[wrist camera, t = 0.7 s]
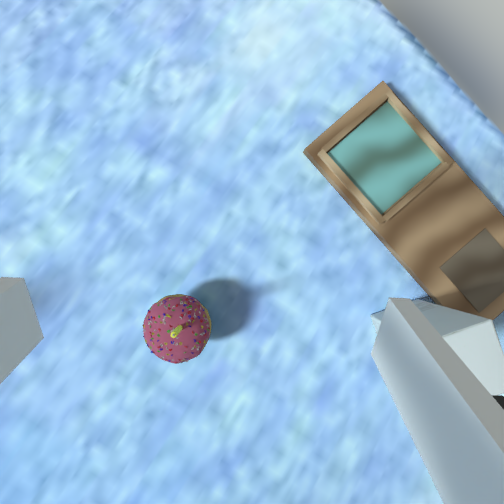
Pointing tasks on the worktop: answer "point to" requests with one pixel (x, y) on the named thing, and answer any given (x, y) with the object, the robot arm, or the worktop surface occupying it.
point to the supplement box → (466, 341)
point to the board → (416, 202)
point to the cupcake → (177, 328)
